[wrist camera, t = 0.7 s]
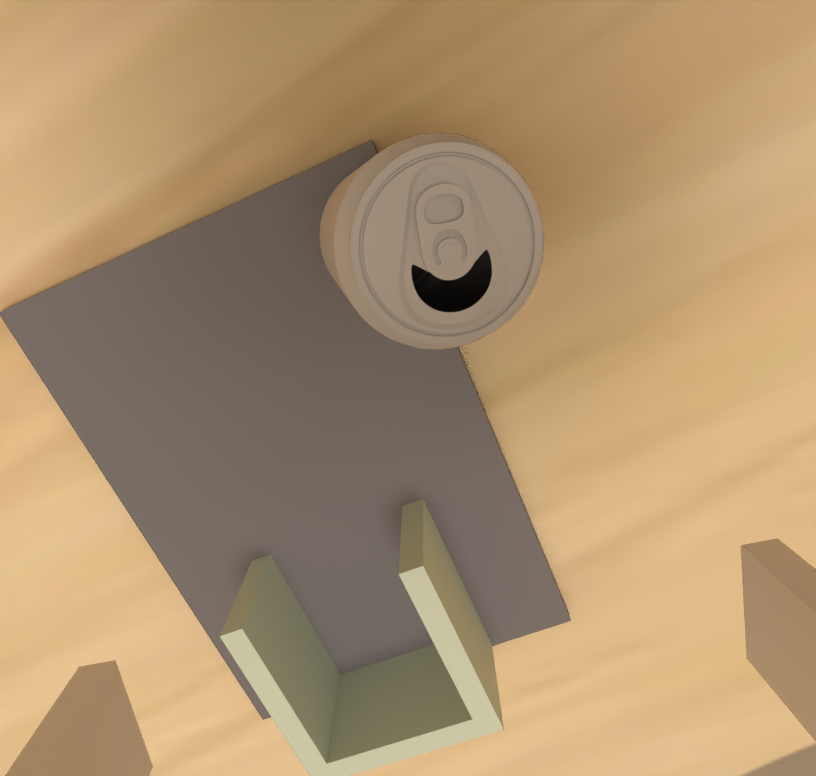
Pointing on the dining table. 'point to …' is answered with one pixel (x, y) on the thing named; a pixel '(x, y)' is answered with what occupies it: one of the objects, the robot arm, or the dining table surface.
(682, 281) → the dining table surface
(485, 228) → the beverage can
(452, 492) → the mount
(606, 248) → the dining table surface
